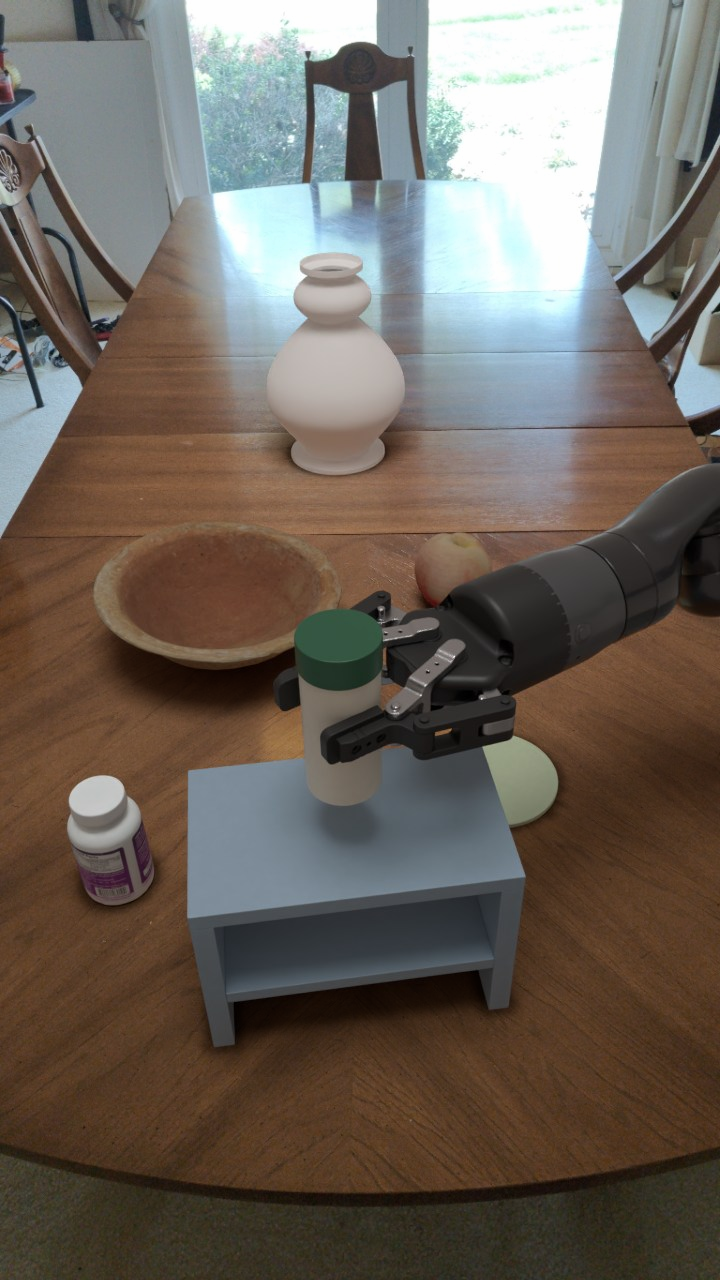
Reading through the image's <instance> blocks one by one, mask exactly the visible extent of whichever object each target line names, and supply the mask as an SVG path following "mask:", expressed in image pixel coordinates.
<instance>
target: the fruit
mask: <svg viewBox="0 0 720 1280" xmlns="http://www.w3.org/2000/svg"><path fill="white" fill-rule="evenodd" d="M414 562H415V563H414V577H415V582H416V584H417V588H418V589H419V592H420V593H421V595H422V597H424V599H425V600H426V601H427V602H428V603H429V604H430V605H431V606H432V607H433V608H434V607H436V606H438V605H439V604H440V603H441V602H442V601H443V600H444V599H445V598H446V596H447V595H448V594H449V593H450V592H451V591H452V590H453V589H454V588H455V587H457V586H459V585H461V584H464V583H466V582H469V581H471V580H474V579H476V578H479V577H481V576H484V575H486V574H489V573H491V572H493V564H492V560H491V558H490V556H489V554H488V552H487V551H486V550H485V548H484V546H483V544H482V543H481V542H480V541H479V540H478V539H477V538H476V537H475V536H473V535H471V534H469V533H467V532H462V531H458V532H454V533H451V534H450V533H446V532H444V533H442V532H441V533H438V534H436V535H433V536H432V537H430V538H429V539H428V540H427V541H426V542H424V543H423V545H422V547H421V548H420V549H419V551H418V553H417V555H416V558H415V561H414Z"/></svg>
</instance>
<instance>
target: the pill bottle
mask: <svg viewBox="0 0 720 1280" xmlns="http://www.w3.org/2000/svg"><path fill="white" fill-rule="evenodd" d="M68 806H69V811H70V814H69V816H68V820H67V824H66V832H67V837H68V840H69V843H70V846H71V849H72V852H73V855H74V858H75V861H76V864H77V868H78V871H79V874H80V877H81V880H82V883H83V886H84V889H85V891H86V893H87V894H88V896H89V897H90V898H91V899H92V900H94V901H95V902H97V903H99V904H102V905H104V906H120V905H123V904H128V903H130V902H132V901H135V900H137V899H139V898H140V897H141V896H143V894H145V893H146V892H147V891H148V889H149V887H150V886H151V884H152V883H153V881H154V876H155V867H154V861H153V856H152V853H151V847H150V844H149V841H148V836H147V832H146V828H145V825H144V820H143V817H142V812H141V810H140V807H139V806H138V804H137V803H136V802H135V800H133V798H131V797H130V796H128V795H127V791H126V789H125V786H124V784H123V783H122V781H120V780H119V778H116V777H115V776H111V775H104V774H101V775H94V776H91V777H87V778H86V779H84V780H82V781H80V782H79V783H77V784H76V785H75V786H74V788H72V790H71V792H70V793H69V796H68Z"/></svg>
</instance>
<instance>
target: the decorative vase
mask: <svg viewBox="0 0 720 1280" xmlns="http://www.w3.org/2000/svg"><path fill="white" fill-rule="evenodd" d="M363 268H364V262H363V259H362V257H360V256H358V255H355V254H353V253H348V252H335V251H334V252H321V253H315V254H311V255H307V256H305V257H303V258H301V259H300V260H299V271H300V272H301V273H302V274H303V275H305V277H304V278H303V279H302V280H301V281H299V283H298V284H297V285H296V287H295V289H294V291H293V296H292V297H293V299H292V300H293V303H294V306H295V308H296V309H297V310H298V311H299V312H300V313H301V315H303V316H304V317H305V318H306V319H305V320H304V321H303V322H302V323H301V324H300V326H298V327H297V328H296V330H295V331H294V332H293V333H292V334H291V335H290V336H289V338H287V340H286V341H285V342H284V343H283V345H282V346H281V347H280V349H279V350H278V352H277V354H276V356H275V357H274V359H273V361H272V363H271V365H270V367H269V370H268V374H267V378H266V385H265V387H266V389H265V393H266V400H267V404H268V407H269V409H270V411H271V413H272V415H273V416H274V418H275V419H276V421H278V423H279V424H280V425H281V426H282V427H283V429H285V430H286V431H287V433H288V434H289V435H291V436H292V437H293V438H294V439H295V442H293V444H292V446H291V449H290V456H291V459H292V461H293V463H294V464H295V465H297V466H298V467H300V468H301V469H303V470H306V471H308V472H310V473H315V474H319V475H325V476H326V475H327V476H343V475H352V474H356V473H357V474H358V473H361V472H364V471H367V470H370V469H371V468H373V467H375V466H377V465H378V464H380V462H381V461H382V460H383V459H384V457H385V453H386V450H385V449H386V448H385V444H384V442H383V441H382V440H381V438H380V437H381V435H382V434H383V433H384V432H385V431H386V430H387V428H388V427H389V426H390V425H391V424H392V423H393V421H395V419H396V417H397V416H398V414H399V413H400V412H401V409H402V407H403V403H404V401H405V397H406V383H405V377H404V372H403V369H402V366H401V364H400V362H399V360H398V359H397V357H396V355H395V354H394V352H393V351H392V349H391V348H390V346H388V344H387V343H386V342H385V340H384V339H383V338H382V337H381V336H380V335H379V334H378V333H377V332H376V331H375V330H374V329H373V328H372V327H371V326H370V325H368V323H366V322H365V321H364V320H363V319H362V318H361V317H360V316H361V315H362V314H363V313H364V312H366V310H367V309H368V308H369V306H370V304H371V301H372V290H371V288H370V287H369V285H368V283H367V281H365V280H364V279H363V278H362V277H361V276H359V275H358V274H359V273H361V272H362V271H363Z"/></svg>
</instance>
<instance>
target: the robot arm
mask: <svg viewBox="0 0 720 1280" xmlns="http://www.w3.org/2000/svg"><path fill="white" fill-rule="evenodd" d="M676 606H677V607H678V608H680V610H682V611H684V612H685V613H688V614H690V615H692V616H693V615H694V616H697V617H700V618H707V619H708V618H709V619H710V618H711V619H715V618H717V619H718V618H720V462H713V463H706V464H702V465H698V466H694V467H692V468H689V469H687V470H685V471H683V472H681V473H678V474H677V475H675V476H673V477H671V478H670V479H669V480H667V481H666V482H664V483H663V484H662V485H660V486H659V487H658V488H656V489H655V490H654V491H653V492H652V493H651V494H649V495H648V496H647V497H646V498H645V499H644V500H643V501H642V502H640V504H638V505H637V506H636V507H635V508H634V509H633V510H632V511H631V512H630V513H628V514H627V515H626V516H624V517H623V518H622V519H620V520H619V521H618V522H617V523H616V524H614V525H612V526H611V527H610V528H608V529H607V530H604V531H602V532H599V533H596V534H595V535H592V536H589V537H587V538H584V539H582V540H579V541H577V542H575V543H572V544H570V545H567V546H564V547H560V548H557V549H552V550H547V551H543V552H540V553H537V554H534V555H532V556H529V557H527V558H524V559H521V560H519V561H517V562H513V563H512V564H509V565H506V566H504V567H501V568H499V569H497V570H493V571H492V572H491V573H489V574H486V575H484V576H481V577H479V578H476V579H474V580H471V581H469V582H466V583H464V584H461V585H459V586H457V587H455V588H454V589H453V590H452V591H451V592H450V593H449V594H448V595H447V596H446V598H445V599H444V600H443V601H442V602H441V603H440V604H439V605H438V606H436V607H434V606H433V607H431V608H421V609H414V610H413V609H412V610H410V611H408V612H407V611H405V610H403V609H401V608H399V607H397V606H395V605H393V604H392V594H391V592H389V591H386V590H377V591H374V592H373V593H372V594H370V595H368V596H367V597H366V598H365V597H364V598H363V599H362V600H361V601H359V602H358V603H356V604H355V605H353V606H352V607H351V608H349V609H350V610H356V611H359V612H362V613H365V614H367V615H369V616H371V617H372V618H373V619H375V620H376V621H377V622H378V623H379V625H380V627H381V629H382V632H383V650H384V649H385V665H383V666H382V669H381V686H385V685H392V684H396V685H398V686H399V687H401V688H402V689H400V691H398V692H397V693H396V694H395V695H393V696H392V697H391V698H390V699H389V700H388V701H386V702H385V705H384V709H383V708H382V709H381V708H380V707H379V706H378V705H376V706H374V707H372V708H369V709H367V710H365V711H363V712H361V713H358V714H356V715H354V716H351V717H349V718H347V719H345V720H342V721H340V722H338V723H336V724H333V725H331V726H329V727H327V728H325V729H324V730H323V731H322V733H321V735H320V746H321V755H322V757H323V758H324V759H325V760H326V761H327V762H328V763H329V764H330V765H333V764H336V763H338V762H341V763H347V762H352V761H354V760H356V759H359V758H360V757H363V756H365V755H366V754H369V753H371V752H373V751H376V750H378V749H380V748H382V749H383V748H385V747H386V746H391V747H401V746H403V747H408V748H410V749H412V750H413V756H414V757H415V758H417V759H419V760H429V759H433V758H438V757H442V756H446V755H450V754H454V753H459V752H463V751H467V750H471V749H475V748H479V747H484V746H488V745H492V744H496V743H500V742H504V741H508V740H510V739H511V738H512V737H513V736H514V730H515V721H516V710H517V699H515V697H514V696H515V695H518V694H519V693H521V692H523V691H526V690H528V689H530V688H532V687H534V686H536V685H538V684H540V683H542V682H545V681H547V680H549V679H551V678H553V677H556V676H557V675H560V674H561V673H564V672H566V671H568V670H570V669H572V668H574V667H576V666H579V665H580V664H584V663H585V662H586V661H588V660H590V659H591V658H594V657H595V656H596V655H598V654H600V653H601V652H602V651H603V650H605V649H607V648H608V647H610V646H612V645H613V644H617V643H618V642H620V641H622V640H624V639H626V638H628V637H631V636H633V635H635V634H637V633H639V632H641V631H644V630H646V629H648V628H650V627H652V626H654V625H656V624H658V623H660V622H661V621H662V620H664V619H666V618H667V617H668V616H669V615H670V614H671V613H672V612H673V610H674V609H675V607H676ZM272 683H273V684H272V690H273V699H274V700H273V701H274V704H275V705H276V706H277V707H278V708H279V709H280V711H282V712H289V711H291V710H293V709H295V708H298V707H301V702H300V688H299V675H298V671H297V668H296V665H294V666H292V667H289V668H287V669H284V670H283V671H282V672H280V673H279V674H278V675H277V676H276V678H275V679H274V680H273V682H272ZM447 730H450V731H448V732H446V733H443V734H438V735H436V733H439V732H442V731H447Z"/></svg>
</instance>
